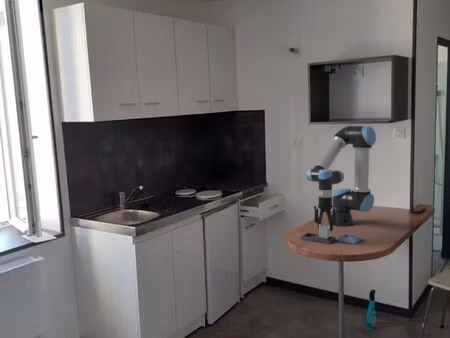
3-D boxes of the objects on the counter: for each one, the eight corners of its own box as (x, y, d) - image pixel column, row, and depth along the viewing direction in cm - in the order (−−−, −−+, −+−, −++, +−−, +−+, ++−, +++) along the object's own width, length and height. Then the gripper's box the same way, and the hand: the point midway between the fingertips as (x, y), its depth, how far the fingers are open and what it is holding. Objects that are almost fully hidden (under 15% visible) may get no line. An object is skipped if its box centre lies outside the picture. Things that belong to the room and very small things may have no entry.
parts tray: (344, 237, 270) (344, 232, 270) (361, 239, 264) (361, 235, 264) (338, 241, 262) (338, 237, 262) (354, 244, 257) (355, 239, 256)
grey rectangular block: (323, 239, 267) (323, 224, 266) (331, 240, 264) (331, 225, 263) (319, 241, 263) (319, 226, 262) (327, 242, 260) (327, 227, 259)
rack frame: (307, 235, 275) (307, 232, 275) (335, 240, 264) (335, 237, 264) (300, 239, 268) (300, 236, 268) (329, 244, 257) (329, 240, 257)
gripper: (308, 196, 262) (308, 235, 265) (337, 199, 252) (337, 239, 255) (313, 193, 268) (313, 231, 271) (342, 196, 257) (342, 236, 261)
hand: (325, 235), depth 263 cm, fingers closed on grey rectangular block, 5 cm apart
